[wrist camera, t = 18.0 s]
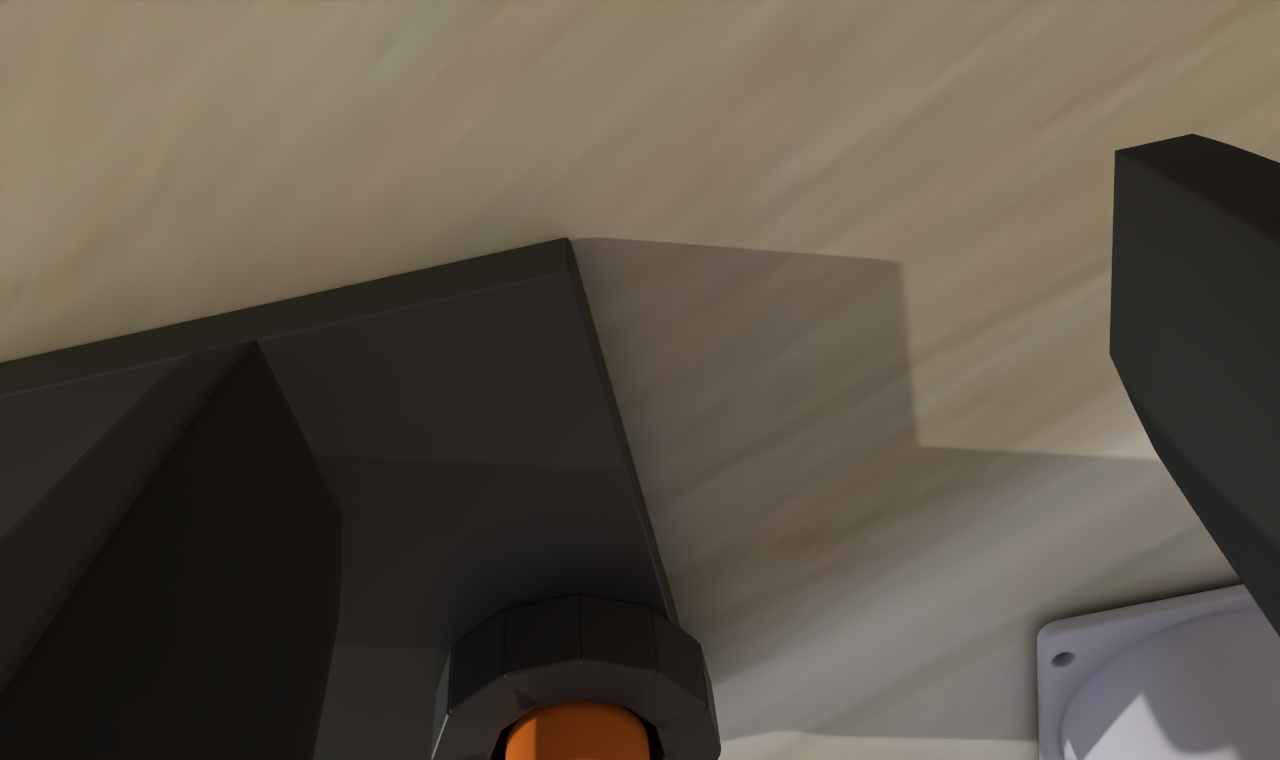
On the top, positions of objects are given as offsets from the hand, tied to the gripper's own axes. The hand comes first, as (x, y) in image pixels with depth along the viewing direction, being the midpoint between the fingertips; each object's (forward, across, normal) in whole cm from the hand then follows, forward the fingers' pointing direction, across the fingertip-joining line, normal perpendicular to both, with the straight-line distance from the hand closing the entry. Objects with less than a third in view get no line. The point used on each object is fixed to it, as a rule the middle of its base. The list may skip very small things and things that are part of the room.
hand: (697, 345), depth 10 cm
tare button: (+8, +4, +15) cm, 17 cm away
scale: (+10, +8, +11) cm, 17 cm away
